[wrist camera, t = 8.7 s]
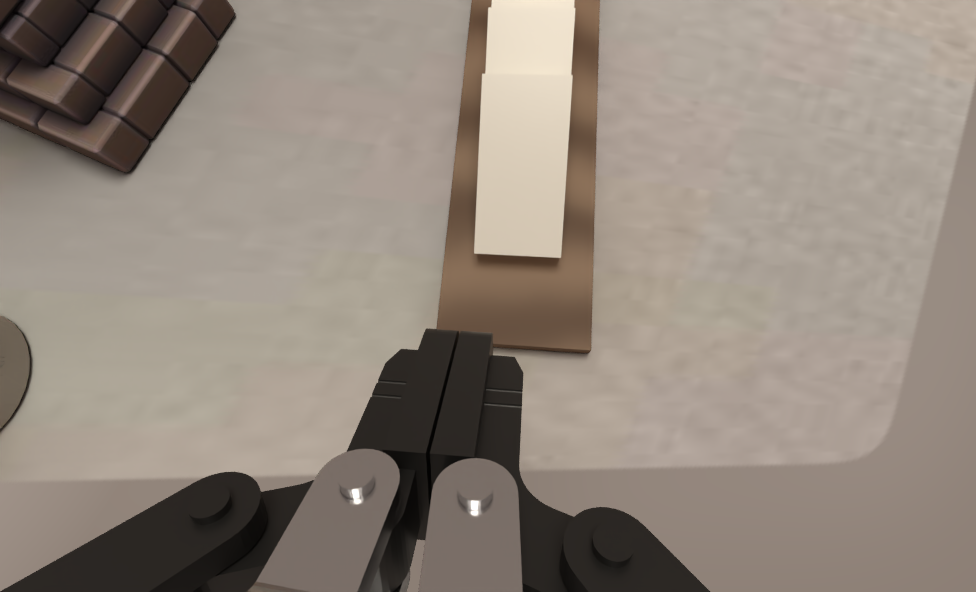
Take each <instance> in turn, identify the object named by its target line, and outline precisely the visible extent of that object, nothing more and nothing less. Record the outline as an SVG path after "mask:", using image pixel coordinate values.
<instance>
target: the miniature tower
mask: <svg viewBox="0 0 976 592" xmlns="http://www.w3.org/2000/svg"><path fill="white" fill-rule="evenodd" d="M234 14H235V13H234V9H233V8H232V6H231V5H230V4H229V2H228V1H227V0H0V118H1V119H3V120H5V121H8V122H12V123H13V124H15V125H17V126H19V127H21V128H24V129H26V130H28V131H31V132H33V133H35V134H37V135H40V136H42V137H44V138H47V139H49V140H51V141H53V142H56V143H58V144H60V145H63V146H65V147H69V148H70V149H72V150H74V151H76V152H78V153H81V154H83V155H85V156H88V157H90V158H92V159H94V160H97V161H99V162H101V163H104V164H106V165H108V166H110V167H113V168H115V169H117V170H120V171H122V172H124V173H125V172H129V171H131V169H132V168H133V166H134V165H135V163H136V162H137V160H138V159H139V157H140V156H141V154H142V153H143V151H144V150H145V149H146V147H147V146H148V144H149V141H148V139H152V138H153V137H154V136H155V134H156V133H157V131H158V130H159V128H160V127H161V125H162V124H163V122H164V121H165V119H166V118H167V117H168V115H169V114H170V112H171V111H172V109H173V108H174V106H175V105H176V103H177V102H178V100H179V99H180V98H181V96H182V95H183V93H184V92H185V90H186V89H187V87H188V86H189V83H188V81H192V80H193V79H194V77H195V76H196V74H197V73H198V71H199V70H200V68H201V67H202V65H203V64H204V62H205V61H206V59H207V58H208V57H209V55H210V54H211V52H212V51H213V49H214V48H215V46H216V45H217V41H216V39H218V38H219V37H220V35H221V34H222V32H223V31H224V29H225V28H226V26H227V25H228V23H229V22H230V21H231V19H232V18H233V16H234Z"/></svg>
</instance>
